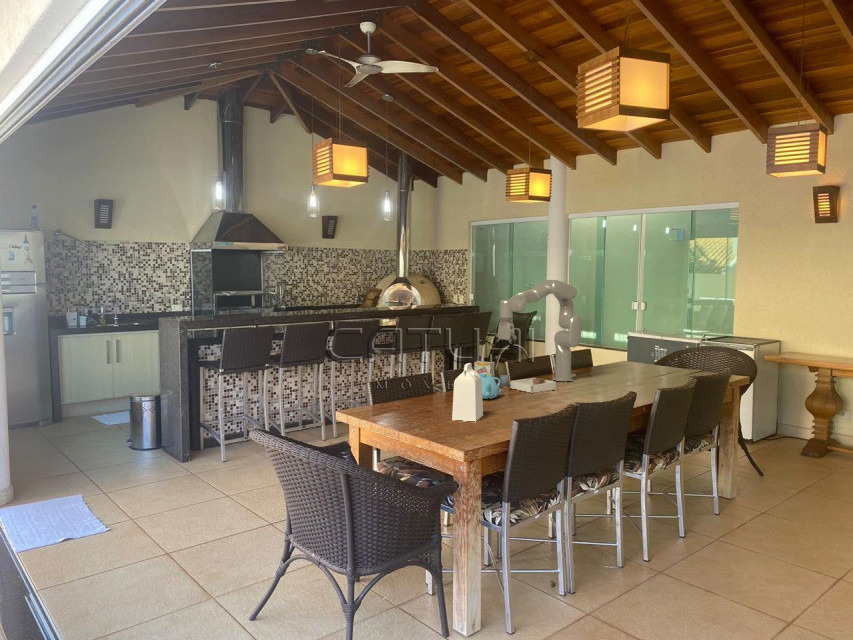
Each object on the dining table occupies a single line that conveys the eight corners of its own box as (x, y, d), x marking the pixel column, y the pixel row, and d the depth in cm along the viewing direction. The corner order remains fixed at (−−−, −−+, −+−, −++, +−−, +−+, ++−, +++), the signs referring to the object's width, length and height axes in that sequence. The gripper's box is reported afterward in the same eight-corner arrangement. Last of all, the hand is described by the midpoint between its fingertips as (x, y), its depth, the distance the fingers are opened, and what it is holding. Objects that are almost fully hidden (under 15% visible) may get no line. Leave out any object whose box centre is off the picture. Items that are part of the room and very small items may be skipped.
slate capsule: (504, 385, 389) (504, 374, 389) (510, 387, 385) (510, 375, 385) (498, 386, 386) (498, 375, 386) (504, 388, 382) (504, 376, 382)
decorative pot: (486, 402, 341) (486, 377, 340) (462, 398, 352) (462, 373, 351) (503, 398, 354) (504, 373, 352) (480, 394, 364) (480, 370, 363)
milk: (460, 414, 313) (460, 361, 311) (483, 416, 309) (483, 362, 307) (452, 420, 302) (452, 365, 300) (475, 422, 298) (475, 366, 296)
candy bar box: (473, 389, 377) (473, 361, 376) (477, 388, 382) (477, 360, 380) (490, 391, 372) (491, 363, 370) (494, 390, 376) (494, 362, 374)
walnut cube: (538, 386, 382) (538, 378, 382) (544, 387, 378) (544, 379, 378) (532, 387, 379) (532, 378, 379) (538, 388, 375) (538, 380, 375)
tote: (534, 385, 389) (534, 377, 389) (556, 390, 375) (556, 381, 374) (509, 389, 378) (510, 381, 377) (531, 394, 363) (532, 385, 363)
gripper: (520, 321, 378) (520, 350, 379) (500, 319, 392) (500, 347, 393) (511, 321, 373) (511, 351, 375) (491, 319, 387) (491, 348, 389)
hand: (505, 349), depth 384 cm, fingers open, 9 cm apart
